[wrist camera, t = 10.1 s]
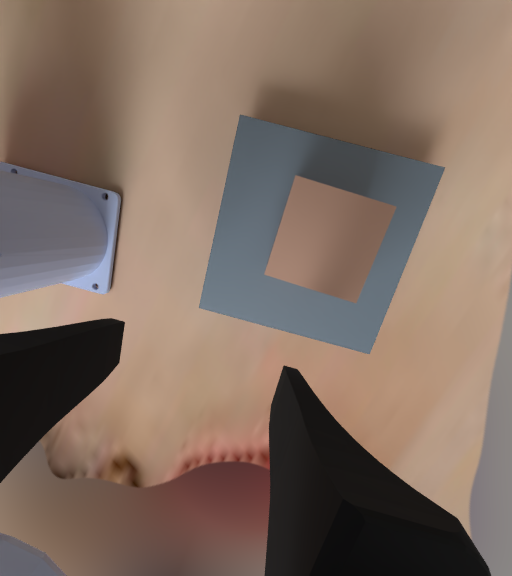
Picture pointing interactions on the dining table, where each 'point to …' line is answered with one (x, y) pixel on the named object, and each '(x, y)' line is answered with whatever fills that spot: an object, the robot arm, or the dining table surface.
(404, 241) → the base board
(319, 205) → the pale pink cube
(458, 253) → the dining table surface
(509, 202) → the dining table surface
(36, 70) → the dining table surface
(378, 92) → the dining table surface
